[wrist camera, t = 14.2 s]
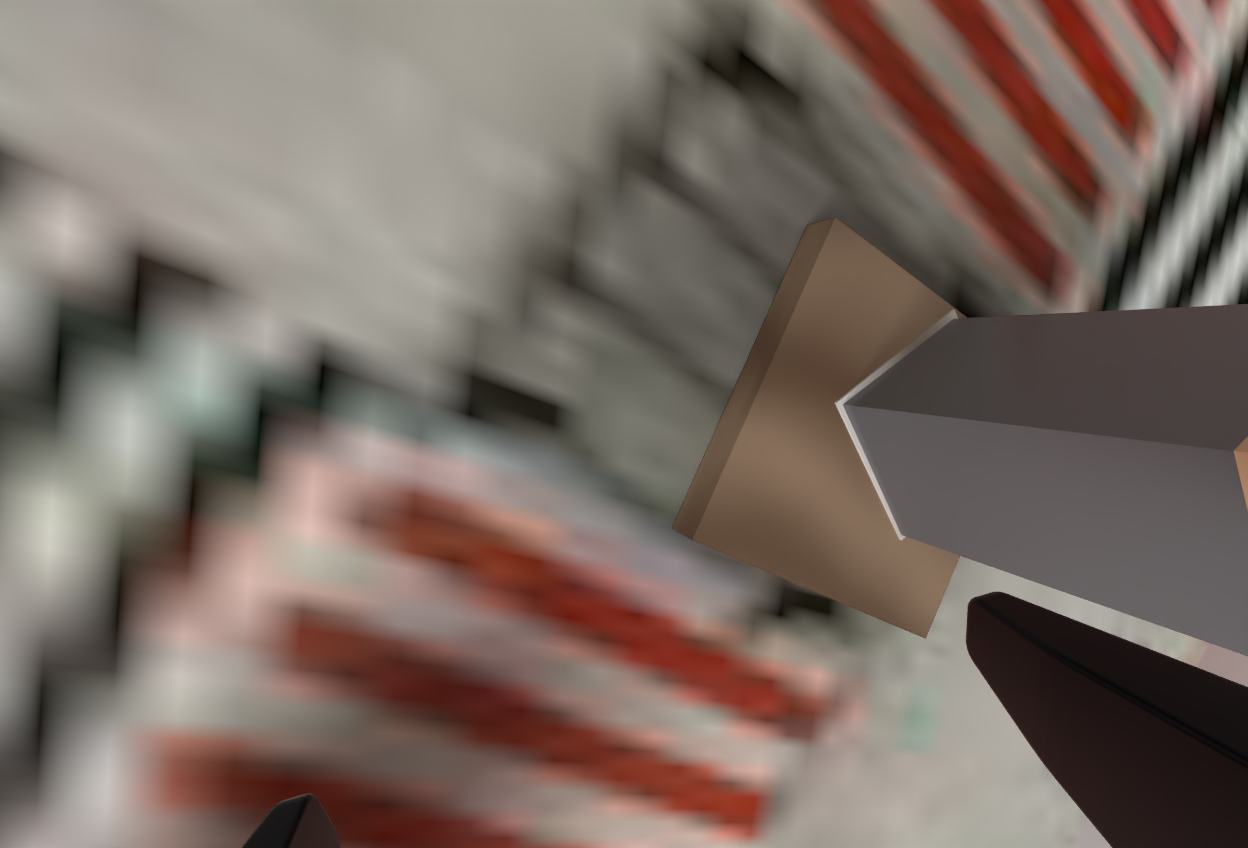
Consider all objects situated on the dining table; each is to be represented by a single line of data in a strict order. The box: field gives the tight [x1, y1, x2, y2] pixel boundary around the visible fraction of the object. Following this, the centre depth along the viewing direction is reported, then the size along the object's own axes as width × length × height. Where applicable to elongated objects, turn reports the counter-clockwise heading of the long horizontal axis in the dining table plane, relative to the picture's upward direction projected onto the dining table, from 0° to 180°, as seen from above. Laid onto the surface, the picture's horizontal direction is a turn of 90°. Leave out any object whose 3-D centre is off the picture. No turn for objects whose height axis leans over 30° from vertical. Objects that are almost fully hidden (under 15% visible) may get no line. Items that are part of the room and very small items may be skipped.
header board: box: [672, 217, 967, 639], centre depth 23 cm, size 12×12×4 cm
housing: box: [843, 304, 1248, 656], centre depth 18 cm, size 6×6×12 cm
